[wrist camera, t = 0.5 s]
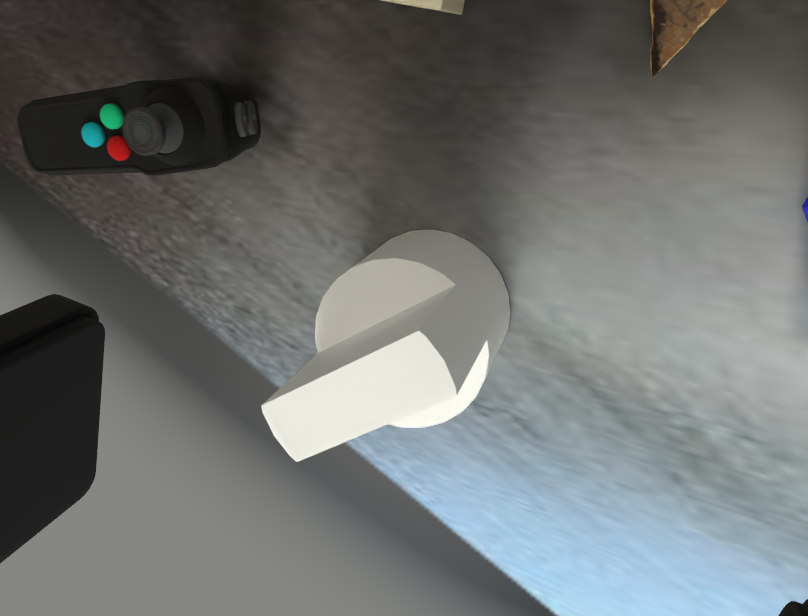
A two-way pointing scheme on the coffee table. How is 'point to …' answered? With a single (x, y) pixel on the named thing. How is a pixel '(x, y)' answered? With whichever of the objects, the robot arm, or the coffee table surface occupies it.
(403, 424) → the cylinder with rectangular tab
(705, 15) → the shard
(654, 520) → the coffee table surface
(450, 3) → the open box
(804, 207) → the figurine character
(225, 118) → the controller
